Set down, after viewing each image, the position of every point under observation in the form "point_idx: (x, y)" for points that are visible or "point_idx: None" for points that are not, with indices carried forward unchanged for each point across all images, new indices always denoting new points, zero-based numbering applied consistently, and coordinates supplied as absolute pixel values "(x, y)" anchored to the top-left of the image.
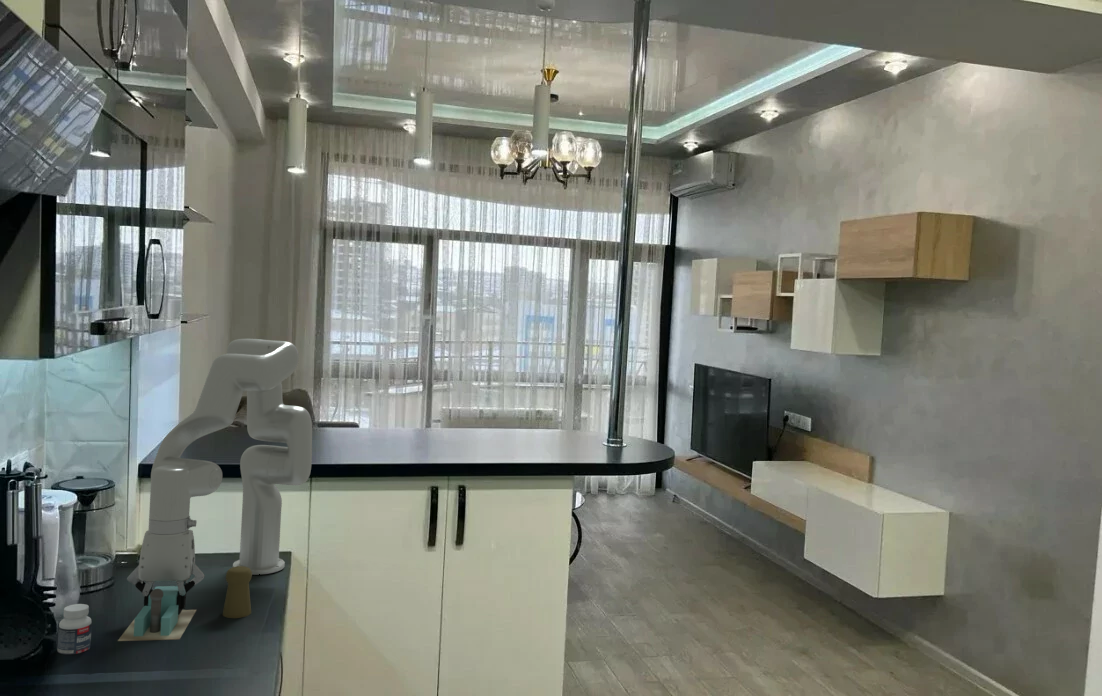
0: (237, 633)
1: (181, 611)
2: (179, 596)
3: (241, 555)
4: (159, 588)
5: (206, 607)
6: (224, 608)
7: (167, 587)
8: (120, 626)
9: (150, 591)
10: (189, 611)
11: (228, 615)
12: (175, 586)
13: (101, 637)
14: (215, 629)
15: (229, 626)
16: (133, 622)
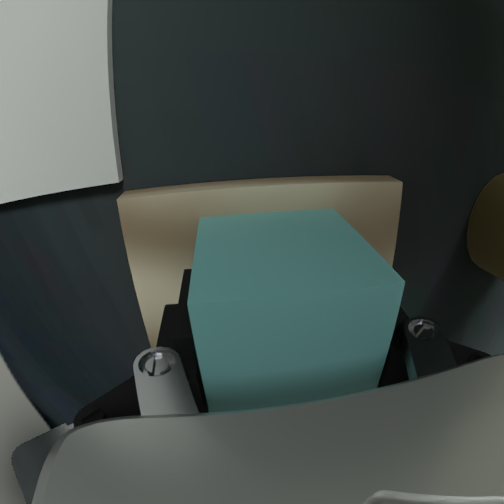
0: (479, 330)
1: (337, 203)
2: (379, 387)
3: None
4: (236, 349)
5: (412, 70)
6: (501, 266)
7: (297, 323)
8: (101, 304)
9: (199, 411)
10: (374, 206)
11: (494, 274)
12: (358, 295)
13: (102, 382)
14: (442, 313)
15: (476, 287)
16: (156, 340)
